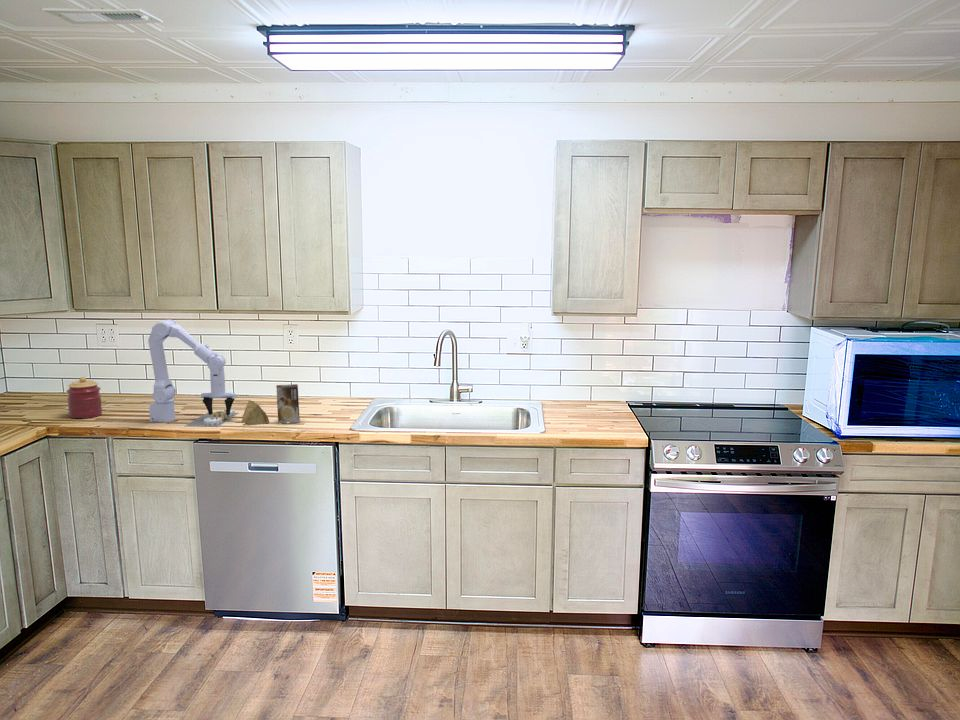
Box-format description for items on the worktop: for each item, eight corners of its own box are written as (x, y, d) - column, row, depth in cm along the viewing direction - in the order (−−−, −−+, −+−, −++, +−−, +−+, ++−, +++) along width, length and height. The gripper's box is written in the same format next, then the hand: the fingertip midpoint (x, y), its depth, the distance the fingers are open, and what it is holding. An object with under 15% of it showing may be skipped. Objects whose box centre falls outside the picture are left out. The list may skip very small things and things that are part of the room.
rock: (275, 415, 289) (255, 410, 291) (269, 403, 282) (249, 398, 285) (262, 435, 282) (242, 429, 284) (255, 423, 276) (235, 417, 278)
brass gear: (210, 420, 284) (210, 414, 283) (216, 417, 289) (215, 411, 289) (223, 421, 284) (223, 414, 283) (228, 417, 289) (228, 411, 289)
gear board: (184, 428, 275) (183, 419, 274) (208, 414, 298) (208, 405, 298) (217, 429, 275) (217, 419, 274) (239, 414, 298) (239, 406, 298)
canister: (92, 410, 302) (89, 372, 299) (108, 414, 296) (105, 376, 293) (62, 416, 291) (59, 377, 288) (78, 420, 285) (75, 380, 282)
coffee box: (299, 419, 292) (298, 383, 290) (299, 423, 286) (298, 386, 284) (277, 420, 290) (276, 384, 287) (277, 424, 284) (276, 387, 281)
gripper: (238, 382, 288) (239, 412, 290) (205, 381, 288) (206, 411, 290) (231, 385, 281) (233, 416, 283) (197, 384, 281) (199, 415, 283)
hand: (219, 414), depth 286 cm, fingers open, 7 cm apart
